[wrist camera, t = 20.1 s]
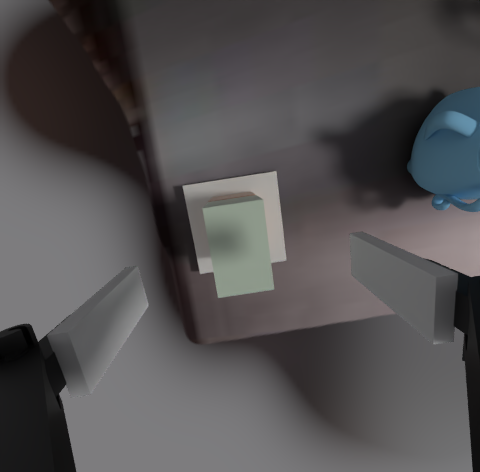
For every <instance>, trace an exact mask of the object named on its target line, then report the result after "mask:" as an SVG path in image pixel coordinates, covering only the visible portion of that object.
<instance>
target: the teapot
mask: <svg viewBox="0 0 480 472" xmlns="http://www.w3.org/2000/svg"><path fill="white" fill-rule="evenodd" d="M407 170H408V172H409V173H411V174H412V177H413V179H414V180H415V182H416V183H417V184H418V185H419V186H420V187H422V188H423V189H425V190H427V191H429V192H432V193H434V194H436V195H435V196H434V197H433V199H432V206H433V207H434V208H435V209H437V210H445V209H447V208H448V207H449V206H450V203H451V204H453V205H454V206H456V207H458V208H459V209H462V210H464V211H469V212H478V211H480V87H475V88H469V89H464V90H461V91H458V92H455V93H452V94H450V95H448V96H447V97H445V98H444V99H443V100H441V101H440V102H439V103H438V104H437V105H436V106H435V107H434V108H433V110H432V111H431V112H430V114H429V115H428V117H427V118H426V119H425V120H424V123H423V124H422V126H421V128H420V130H419V132H418V134H417V136H416V139H415V142H414V145H413V149H412V154H411V159H410V160H409V162H408V164H407ZM460 199H468V200H469V199H478V200H476V201H475V202H473V203H471V204H467V203H465V202H463V201H461V200H460Z"/></svg>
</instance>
